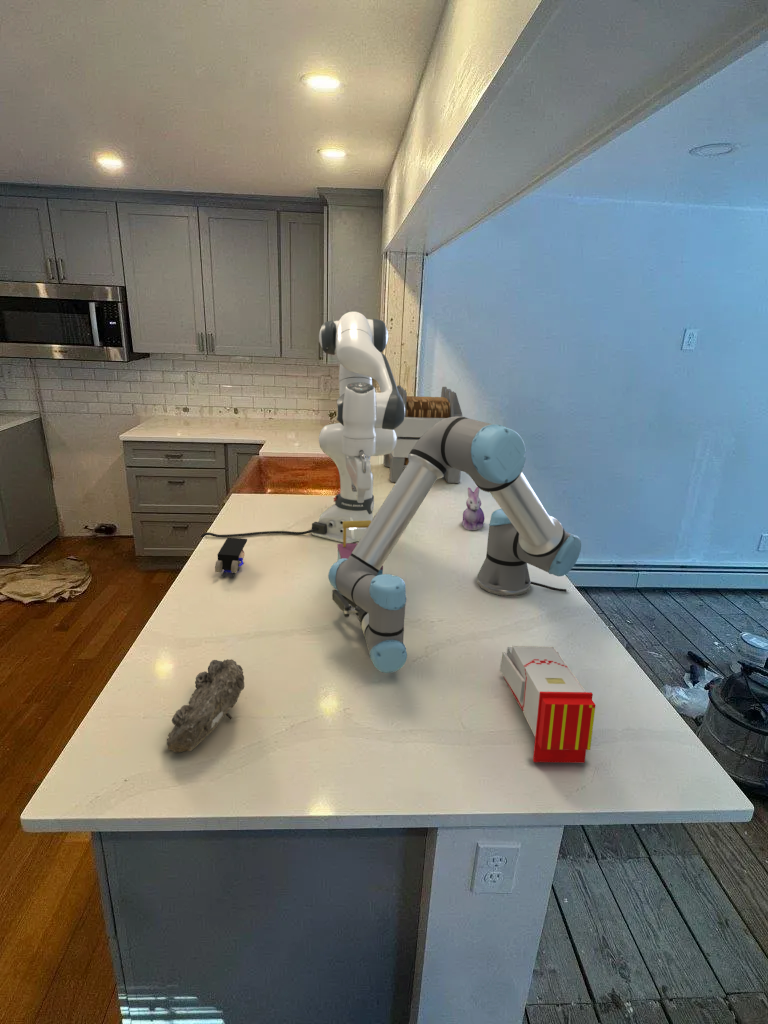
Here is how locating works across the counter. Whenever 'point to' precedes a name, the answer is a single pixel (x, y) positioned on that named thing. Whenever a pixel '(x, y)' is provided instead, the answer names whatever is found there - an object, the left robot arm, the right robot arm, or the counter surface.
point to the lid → (348, 548)
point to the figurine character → (230, 556)
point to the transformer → (421, 428)
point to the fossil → (206, 705)
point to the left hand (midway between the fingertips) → (357, 496)
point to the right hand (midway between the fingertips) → (361, 579)
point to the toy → (550, 702)
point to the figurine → (473, 511)
